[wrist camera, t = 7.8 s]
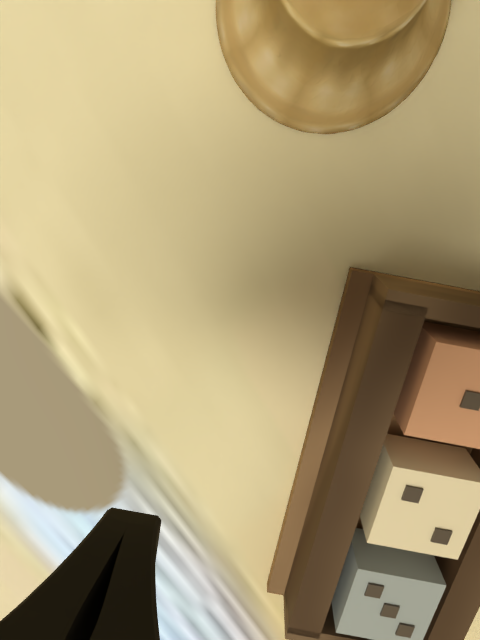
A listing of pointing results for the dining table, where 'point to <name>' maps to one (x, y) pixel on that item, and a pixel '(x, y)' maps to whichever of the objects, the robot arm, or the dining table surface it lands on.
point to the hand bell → (329, 56)
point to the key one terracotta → (443, 387)
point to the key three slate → (386, 592)
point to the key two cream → (422, 497)
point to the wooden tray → (365, 452)
